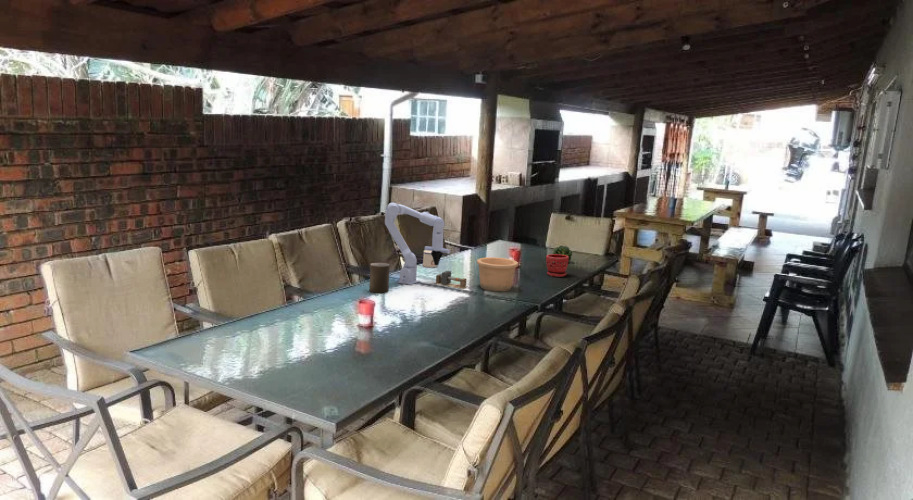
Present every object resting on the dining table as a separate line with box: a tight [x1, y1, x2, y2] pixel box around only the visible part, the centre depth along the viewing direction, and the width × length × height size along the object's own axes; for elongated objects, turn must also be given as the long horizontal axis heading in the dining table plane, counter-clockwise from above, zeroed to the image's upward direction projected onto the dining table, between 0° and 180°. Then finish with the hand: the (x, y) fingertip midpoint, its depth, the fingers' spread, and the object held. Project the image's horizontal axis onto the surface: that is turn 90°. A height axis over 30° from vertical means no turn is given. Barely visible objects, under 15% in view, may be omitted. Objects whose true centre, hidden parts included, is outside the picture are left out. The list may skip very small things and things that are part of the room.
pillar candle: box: [369, 262, 390, 294], centre depth 329 cm, size 10×10×15 cm
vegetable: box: [552, 245, 573, 265], centre depth 427 cm, size 12×13×15 cm
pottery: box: [476, 256, 519, 292], centre depth 350 cm, size 22×22×14 cm
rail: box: [433, 273, 468, 290], centre depth 350 cm, size 17×6×5 cm, turn 63°
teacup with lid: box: [422, 249, 438, 269], centre depth 396 cm, size 12×9×12 cm
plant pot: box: [545, 253, 569, 278], centre depth 389 cm, size 13×13×12 cm
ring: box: [441, 270, 452, 285], centre depth 351 cm, size 2×6×6 cm, turn 152°
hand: (436, 264), depth 353 cm, fingers closed
